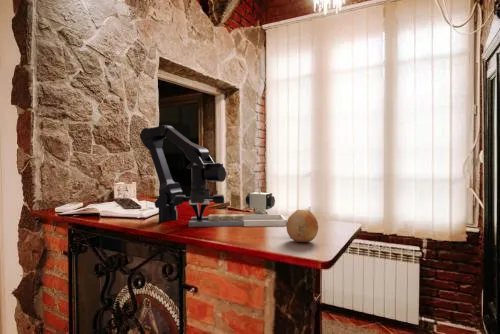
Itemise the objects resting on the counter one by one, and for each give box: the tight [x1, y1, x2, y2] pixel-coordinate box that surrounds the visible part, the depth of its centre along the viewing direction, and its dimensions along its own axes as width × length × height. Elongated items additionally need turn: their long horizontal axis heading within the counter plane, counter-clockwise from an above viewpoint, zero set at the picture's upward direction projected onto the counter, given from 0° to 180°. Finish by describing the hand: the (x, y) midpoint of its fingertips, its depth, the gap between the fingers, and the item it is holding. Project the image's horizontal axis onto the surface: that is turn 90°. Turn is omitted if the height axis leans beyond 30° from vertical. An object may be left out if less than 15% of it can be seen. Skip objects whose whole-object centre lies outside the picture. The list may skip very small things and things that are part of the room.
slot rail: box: [188, 215, 245, 228], centre depth 117 cm, size 20×10×3 cm, turn 94°
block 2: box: [220, 213, 232, 220], centre depth 118 cm, size 4×4×3 cm
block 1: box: [208, 213, 221, 220], centre depth 117 cm, size 4×4×3 cm
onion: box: [285, 209, 319, 243], centre depth 95 cm, size 10×10×10 cm
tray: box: [243, 213, 288, 227], centre depth 119 cm, size 16×12×3 cm
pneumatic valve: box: [245, 190, 276, 215], centre depth 131 cm, size 6×12×12 cm, turn 63°
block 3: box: [232, 213, 244, 220], centre depth 118 cm, size 4×4×3 cm
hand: (199, 222), depth 117 cm, fingers closed
